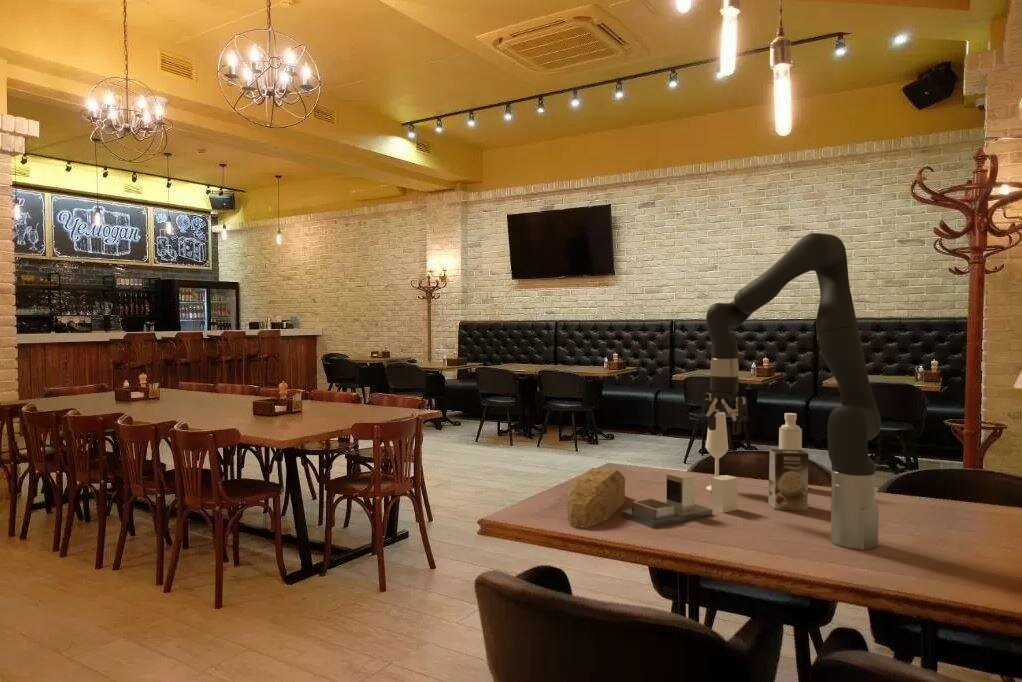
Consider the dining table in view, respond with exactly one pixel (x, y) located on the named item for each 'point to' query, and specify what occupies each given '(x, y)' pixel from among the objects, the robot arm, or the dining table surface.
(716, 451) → the champagne flute
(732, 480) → the beige block
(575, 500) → the bread
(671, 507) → the grey block holder
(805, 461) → the coffee box
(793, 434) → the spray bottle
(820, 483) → the dining table surface
